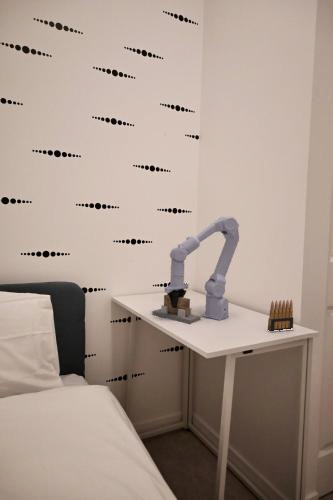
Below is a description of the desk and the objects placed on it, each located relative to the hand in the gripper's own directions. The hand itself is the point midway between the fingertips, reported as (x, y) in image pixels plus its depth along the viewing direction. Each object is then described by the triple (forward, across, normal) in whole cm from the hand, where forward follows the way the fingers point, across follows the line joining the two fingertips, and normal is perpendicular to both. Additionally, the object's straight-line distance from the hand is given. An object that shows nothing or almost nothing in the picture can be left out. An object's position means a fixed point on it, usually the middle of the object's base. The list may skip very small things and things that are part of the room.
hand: (176, 307), depth 136 cm
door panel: (+3, 0, 0) cm, 3 cm away
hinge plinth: (+4, 0, 0) cm, 4 cm away
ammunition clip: (+5, -14, +40) cm, 43 cm away
